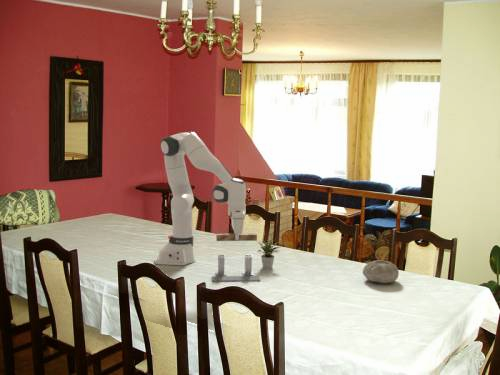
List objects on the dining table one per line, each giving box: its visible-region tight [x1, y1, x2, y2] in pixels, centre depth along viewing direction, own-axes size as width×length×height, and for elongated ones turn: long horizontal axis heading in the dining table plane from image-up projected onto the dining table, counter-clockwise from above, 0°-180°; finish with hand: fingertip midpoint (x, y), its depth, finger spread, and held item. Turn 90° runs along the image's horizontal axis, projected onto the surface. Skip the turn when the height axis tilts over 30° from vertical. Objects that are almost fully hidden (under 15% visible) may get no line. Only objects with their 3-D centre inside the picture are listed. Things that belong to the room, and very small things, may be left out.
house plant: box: [257, 237, 282, 270], centre depth 322 cm, size 14×14×16 cm
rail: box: [215, 232, 258, 242], centre depth 299 cm, size 20×3×3 cm, turn 96°
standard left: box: [215, 253, 227, 276], centre depth 308 cm, size 5×6×10 cm
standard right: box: [242, 253, 255, 276], centre depth 310 cm, size 5×6×10 cm
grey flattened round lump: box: [362, 259, 400, 284], centre depth 303 cm, size 18×18×10 cm
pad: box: [211, 275, 261, 283], centre depth 302 cm, size 24×7×1 cm, turn 96°
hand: (236, 238), depth 299 cm, fingers closed on rail, 3 cm apart
